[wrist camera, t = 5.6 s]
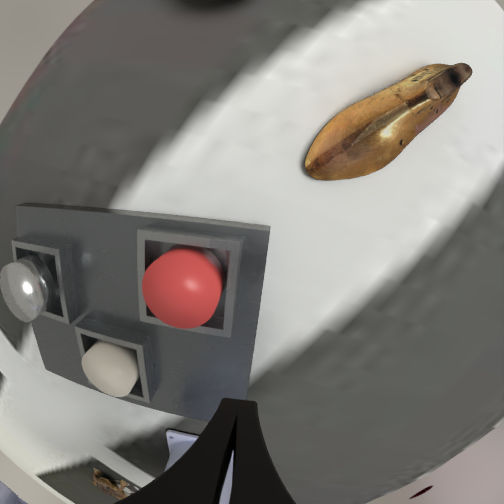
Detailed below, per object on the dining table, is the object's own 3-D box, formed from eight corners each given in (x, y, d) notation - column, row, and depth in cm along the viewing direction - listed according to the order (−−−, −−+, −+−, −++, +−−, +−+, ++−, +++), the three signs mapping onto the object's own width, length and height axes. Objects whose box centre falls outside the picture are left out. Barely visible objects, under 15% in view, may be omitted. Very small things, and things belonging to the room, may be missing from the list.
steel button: (59, 313, 18) (40, 328, 15) (25, 301, 18) (6, 313, 16) (51, 259, 17) (28, 270, 14) (16, 251, 17) (-5, 260, 14)
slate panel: (243, 414, 23) (240, 439, 20) (53, 361, 24) (38, 376, 21) (270, 226, 18) (269, 237, 15) (26, 202, 19) (3, 208, 16)
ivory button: (145, 383, 21) (134, 403, 18) (101, 370, 21) (88, 387, 19) (140, 341, 19) (126, 360, 17) (92, 328, 20) (76, 344, 17)
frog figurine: (76, 453, 31) (67, 468, 27) (140, 480, 31) (133, 498, 27) (92, 481, 34) (86, 494, 31) (149, 503, 34) (144, 517, 30)
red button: (222, 313, 18) (215, 334, 16) (158, 303, 18) (143, 320, 16) (228, 248, 17) (220, 261, 15) (158, 239, 17) (141, 250, 15)
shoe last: (288, 144, 17) (292, 137, 12) (437, 61, 14) (470, 42, 9) (326, 201, 18) (342, 213, 13) (466, 111, 15) (505, 104, 10)
